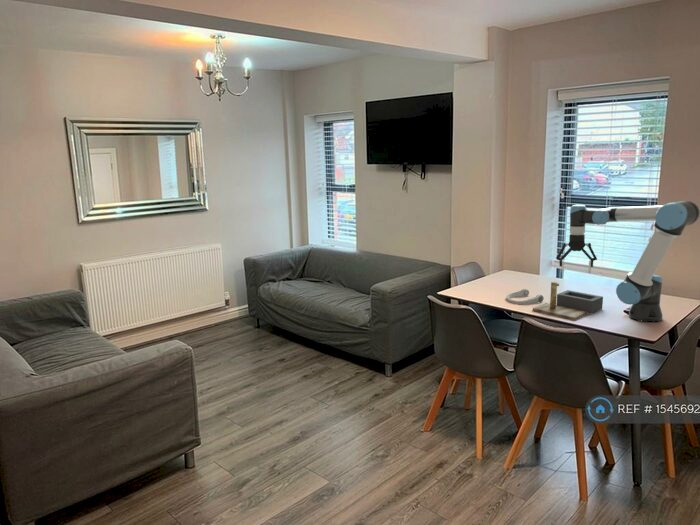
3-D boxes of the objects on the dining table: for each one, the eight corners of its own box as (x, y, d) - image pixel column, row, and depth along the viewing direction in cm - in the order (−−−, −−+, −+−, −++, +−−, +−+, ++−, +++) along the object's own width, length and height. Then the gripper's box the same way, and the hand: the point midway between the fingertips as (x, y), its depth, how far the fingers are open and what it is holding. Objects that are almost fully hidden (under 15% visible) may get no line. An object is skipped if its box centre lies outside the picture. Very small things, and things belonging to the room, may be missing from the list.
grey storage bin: (602, 309, 285) (603, 296, 283) (591, 313, 277) (592, 301, 276) (567, 301, 300) (567, 290, 298) (556, 306, 292) (557, 294, 291)
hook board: (587, 314, 276) (589, 285, 273) (574, 320, 268) (576, 290, 264) (545, 305, 294) (547, 277, 291) (532, 310, 286) (533, 282, 282)
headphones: (517, 306, 296) (518, 297, 295) (501, 298, 311) (501, 290, 310) (544, 302, 301) (545, 294, 300) (527, 295, 316) (527, 287, 315)
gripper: (601, 232, 279) (600, 271, 283) (551, 233, 287) (551, 270, 291) (603, 234, 272) (601, 274, 276) (552, 234, 280) (551, 273, 284)
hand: (575, 272), depth 283 cm, fingers open, 13 cm apart
